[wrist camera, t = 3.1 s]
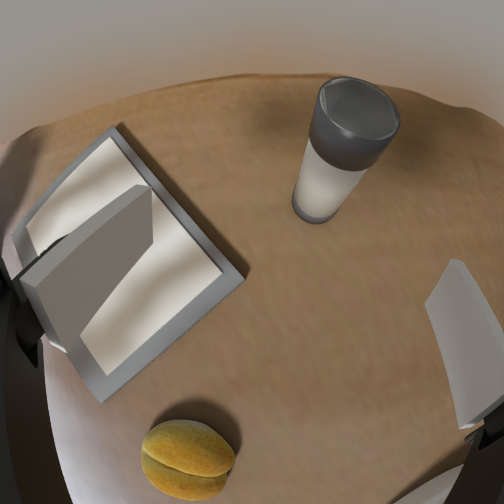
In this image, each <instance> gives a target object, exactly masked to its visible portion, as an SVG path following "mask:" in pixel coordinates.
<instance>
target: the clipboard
mask: <svg viewBox="0 0 504 504" xmlns="http://www.w3.org/2000/svg"><path fill="white" fill-rule="evenodd" d="M136 184H138V185H145V186H151V187H152V222H153V244H152V245H151V246H150V247H149V249H148V250H147V251H146V252H145V253H144V254H143V256H142V257H141V258H140V259H139V260H138V261H137V263H136V264H135V265H134V266H133V267H132V269H131V270H130V271H129V272H128V273H127V275H126V276H125V277H124V278H123V280H122V281H121V282H120V283H119V284H118V286H117V287H116V288H115V289H114V291H113V292H112V293H111V295H110V296H109V297H108V298H107V300H106V301H105V302H104V303H103V305H102V306H101V307H100V309H99V310H98V311H97V313H96V314H95V315H94V317H93V318H92V319H91V321H90V322H89V323H88V325H87V326H86V327H85V329H84V330H83V332H82V333H81V334H80V336H79V337H78V339H77V340H76V341H75V343H74V344H73V346H72V347H71V349H70V350H69V351H68V353H66V352H65V353H66V355H67V357H68V358H69V360H70V361H71V363H72V365H73V366H74V368H75V369H76V371H77V372H78V374H79V375H80V377H81V378H82V379H83V381H84V382H85V384H86V385H87V387H88V388H89V389H90V391H91V392H92V393H93V395H94V396H95V397H96V399H97V400H98V401H99V403H100V404H101V403H103V402H105V401H106V400H108V399H109V398H110V397H111V396H112V395H114V394H115V393H116V392H117V391H118V390H120V389H121V388H122V387H123V386H124V385H125V384H127V383H128V382H129V381H130V380H131V379H133V378H134V377H135V376H136V375H137V374H138V373H140V372H141V371H142V370H143V369H144V368H145V367H147V366H148V365H149V364H150V363H151V362H153V361H154V360H155V359H156V358H157V357H158V356H160V355H161V354H162V353H163V352H164V351H165V350H167V349H168V348H169V347H170V346H171V345H172V344H173V343H175V342H176V341H177V340H178V339H179V338H180V337H182V336H183V335H184V334H185V333H186V332H187V331H188V330H190V329H191V328H192V327H193V326H194V325H195V324H196V323H198V322H199V321H200V320H201V319H202V318H203V317H204V316H206V315H207V314H208V313H209V312H210V311H211V310H212V309H214V308H215V307H216V306H217V305H218V304H219V303H220V302H222V301H223V300H224V299H225V298H226V297H227V296H228V295H229V294H231V293H232V292H233V291H234V290H235V289H236V288H237V287H238V286H240V285H241V284H242V283H243V282H244V281H245V279H244V278H243V277H242V275H241V274H240V273H239V272H238V271H237V270H236V269H235V268H234V267H233V265H232V264H231V263H230V262H229V261H228V260H227V259H226V258H225V256H224V255H223V254H222V253H221V252H220V251H219V250H218V249H217V247H216V246H215V245H214V244H213V243H212V242H211V241H210V239H209V238H208V237H207V236H206V235H205V234H204V233H203V231H202V230H201V229H200V228H199V227H198V226H197V225H196V223H195V222H194V221H193V220H192V219H191V218H190V217H189V215H188V214H187V213H186V212H185V211H184V210H183V208H182V207H181V206H180V205H179V204H178V203H177V202H176V200H175V199H174V198H173V197H172V196H171V195H170V193H169V192H168V191H167V190H166V189H165V187H164V186H163V185H162V184H161V183H160V182H159V180H158V179H157V178H156V177H155V176H154V174H153V173H152V172H151V171H150V170H149V169H148V167H147V166H146V165H145V164H144V163H143V161H142V160H141V159H140V158H139V157H138V155H137V154H136V153H135V152H134V151H133V149H132V148H131V147H130V146H129V145H128V143H127V142H126V141H125V140H124V138H123V137H122V136H121V135H120V134H119V132H118V131H117V130H116V129H115V128H114V126H113V125H112V126H111V127H110V128H108V129H107V130H106V131H105V132H104V133H103V134H102V135H100V136H99V137H98V138H97V139H96V140H95V141H94V142H93V143H92V144H91V145H89V146H88V147H87V148H86V149H85V150H84V151H83V152H82V153H81V154H80V155H79V156H78V157H77V158H76V159H75V160H74V161H73V162H72V163H71V164H70V165H69V166H68V167H67V168H66V169H65V170H64V171H63V172H62V173H61V175H60V176H59V177H58V178H57V179H56V180H55V181H54V182H53V183H52V184H51V186H50V187H49V188H48V189H47V190H46V191H45V192H44V194H43V195H42V196H41V197H40V198H39V200H38V201H37V202H36V203H35V204H34V206H33V207H32V208H31V209H30V211H29V212H28V213H27V215H26V216H25V217H24V219H23V220H22V221H21V223H20V224H19V225H18V227H17V228H16V229H15V231H14V232H13V234H12V239H13V242H14V245H15V248H16V250H17V253H18V256H19V259H20V262H21V264H22V267H23V269H24V268H25V267H26V266H27V265H28V264H30V263H31V262H32V261H33V260H34V259H35V258H36V257H37V256H40V254H41V253H42V252H43V251H44V250H45V249H46V250H47V247H49V246H50V245H51V244H52V243H53V242H55V241H56V240H57V239H59V238H61V237H63V236H65V235H67V234H69V233H71V232H72V231H73V230H75V229H76V228H77V227H78V226H80V225H81V224H82V223H83V222H85V221H86V220H87V219H89V218H90V217H91V216H93V215H94V214H95V213H97V212H98V211H99V210H101V209H102V208H103V207H105V206H106V205H107V204H109V203H110V202H111V201H113V200H114V199H116V198H117V197H119V196H120V195H121V194H123V193H124V192H126V191H127V190H129V189H130V188H132V187H133V186H135V185H136Z"/></svg>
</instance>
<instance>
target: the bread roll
mask: <svg viewBox="0 0 504 504" xmlns="http://www.w3.org/2000/svg"><path fill="white" fill-rule="evenodd" d="M234 462H235V455H234V452H233V450H232V448H231V447H230V445H229V444H228V443H227V442H226V441H225V440H224V439H223V438H222V437H221V436H220V435H219V434H218V433H217V432H216V431H214V430H213V429H212V428H210V427H209V426H207V425H205V424H203V423H200V422H197V421H192V420H170V421H166V422H163V423H161V424H159V425H157V426H156V427H154V428H152V429H151V430H150V431H149V432H148V433H147V434H146V436H145V437H144V439H143V442H142V451H141V464H142V467H143V470H144V473H145V475H146V477H147V478H148V479H149V481H150V482H151V483H152V484H153V485H154V486H155V487H156V488H158V489H159V490H161V491H162V492H164V493H166V494H168V495H170V496H173V497H176V498H180V499H185V500H191V501H199V500H206V499H209V498H212V497H214V496H216V495H217V494H218V493H219V492H220V491H221V490H222V489H223V488H224V486H225V483H226V479H227V471H228V470H230V469H231V467H232V466H233V464H234Z"/></svg>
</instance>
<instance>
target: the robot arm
mask: <svg viewBox="0 0 504 504" xmlns="http://www.w3.org/2000/svg"><path fill="white" fill-rule="evenodd" d="M152 244H153V222H152V187H151V186H145V185H138V184H136V185H135V186H133V187H132V188H130V189H129V190H127V191H126V192H124V193H123V194H121V195H120V196H119V197H117V198H116V199H114V200H113V201H111V202H110V203H109V204H107V205H106V206H105V207H103V208H102V209H101V210H99V211H98V212H97V213H95V214H94V215H93V216H91V217H90V218H89V219H87V220H86V221H85V222H83V223H82V224H81V225H80V226H78V227H77V228H76V229H75V230H73V231H72V232H71V233H69V234H67V235H65V236H63V237H61V238H59V239H57V240H56V241H55V242H53V243H52V244H51V245H50V246H49V247H47V250H46V249H45V250H44V251H43V252H42V253H41V254H40V256H37V257H36V258H35V259H34V260H33V261H32V262H31V263H30V264H28V265H27V266H26V267H25V268H24V269H23V270H22V271H21V272H20V273H19V274H18V275H17V276H16V277H15V278H14V279H13V280H12V281H11V278H10V276H9V274H8V271H7V268H6V266H5V263H4V261H3V259H2V257H0V504H73V503H72V500H71V497H70V495H69V492H68V489H67V486H66V483H65V480H64V476H63V473H62V470H61V466H60V463H59V459H58V455H57V451H56V447H55V442H54V438H53V433H52V428H51V422H50V416H49V410H48V403H47V395H46V386H45V375H44V360H43V344H42V340H41V339H40V338H41V336H42V335H43V334H44V333H45V334H46V336H47V338H48V339H49V341H50V343H51V344H52V345H54V346H55V347H57V348H59V349H61V350H62V351H64V352H66V353H68V351H69V350H70V349H71V347H72V346H73V344H74V343H75V341H76V340H77V339H78V337H79V336H80V334H81V333H82V332H83V330H84V329H85V327H86V326H87V325H88V323H89V322H90V321H91V319H92V318H93V317H94V315H95V314H96V313H97V311H98V310H99V309H100V307H101V306H102V305H103V303H104V302H105V301H106V300H107V298H108V297H109V296H110V295H111V293H112V292H113V291H114V289H115V288H116V287H117V286H118V284H119V283H120V282H121V281H122V280H123V278H124V277H125V276H126V275H127V273H128V272H129V271H130V270H131V269H132V267H133V266H134V265H135V264H136V263H137V261H138V260H139V259H140V258H141V257H142V256H143V254H144V253H145V252H146V251H147V250H148V249H149V247H150V246H151V245H152ZM424 305H425V308H426V310H427V313H428V316H429V319H430V321H431V324H432V327H433V330H434V333H435V336H436V339H437V342H438V345H439V348H440V351H441V355H442V358H443V362H444V365H445V369H446V372H447V376H448V380H449V384H450V388H451V392H452V396H453V401H454V405H455V410H456V415H457V421H458V426H459V429H462V428H468V427H472V426H474V425H475V424H476V423H478V422H479V421H481V420H482V419H483V418H484V423H485V424H483V425H482V426H481V427H479V428H478V429H476V430H475V431H473V432H472V433H471V434H469V435H467V436H466V438H465V439H464V440H465V441H467V440H468V439H470V438H471V437H475V438H474V439H472V440H470V441H469V442H468V444H470V445H471V446H472V447H471V449H470V451H469V454H468V456H467V458H466V461H465V463H464V465H463V467H462V469H461V471H460V473H459V475H458V477H457V479H456V481H455V483H454V485H453V487H452V489H451V491H450V493H449V494H448V496H447V498H446V500H445V501H444V503H443V504H504V333H503V331H502V328H501V326H500V324H499V322H498V320H497V319H496V317H495V315H494V313H493V311H492V309H491V307H490V305H489V304H488V302H487V300H486V298H485V297H484V295H483V293H482V291H481V290H480V288H479V286H478V285H477V283H476V281H475V280H474V278H473V277H472V275H471V273H470V272H469V270H468V269H467V267H466V266H465V264H464V263H463V262H462V261H459V260H456V259H453V258H451V260H450V262H449V264H448V265H447V267H446V269H445V271H444V273H443V274H442V276H441V278H440V279H439V281H438V283H437V285H436V286H435V288H434V290H433V291H432V293H431V294H430V296H429V298H428V299H427V301H426V302H425V304H424Z"/></svg>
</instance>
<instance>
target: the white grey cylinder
mask: <svg viewBox="0 0 504 504" xmlns="http://www.w3.org/2000/svg"><path fill="white" fill-rule="evenodd" d="M399 127H400V116H399V112H398V110H397V108H396V106H395V104H394V103H393V101H392V100H391V99H390V98H389V97H388V96H387V94H385V93H384V92H383V91H382V90H381V89H379V88H378V87H376V86H375V85H373V84H371V83H369V82H366V81H364V80H361V79H357V78H352V77H338V78H334V79H331V80H329V81H327V82H325V83H324V84H323V85H322V86H321V88H320V90H319V92H318V96H317V100H316V104H315V109H314V113H313V117H312V120H311V124H310V129H309V139H308V143H307V147H306V150H305V154H304V158H303V161H302V165H301V169H300V172H299V176H298V179H297V183H296V185H295V188H294V191H293V195H292V206H293V209H294V211H295V213H296V214H297V215H298V217H300V218H301V219H302V220H303V221H305V222H308V223H311V224H322V223H325V222H327V221H329V220H330V219H331V218H332V217H333V216H334V215H335V213H336V212H337V211H338V209H339V208H340V206H341V205H342V203H343V202H344V201H345V199H346V198H347V197H348V195H349V194H350V193H351V191H352V190H353V189H354V187H355V186H356V185H357V183H358V182H359V181H360V179H361V178H362V177H363V175H364V174H365V173H366V171H367V170H368V169H369V167H371V166H372V165H373V164H374V163H375V162H376V161H377V159H378V158H379V157H380V155H381V154H382V153H383V151H384V150H385V148H386V147H387V146H388V144H389V143H390V141H391V140H392V139H393V137H394V136H395V135H396V133H397V131H398V130H399Z"/></svg>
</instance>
